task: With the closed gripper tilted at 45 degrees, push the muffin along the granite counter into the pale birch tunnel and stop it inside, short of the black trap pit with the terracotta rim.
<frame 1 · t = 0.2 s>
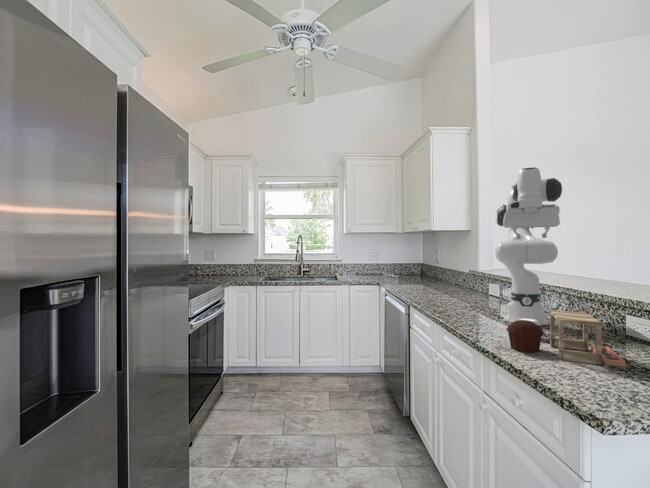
hand: (531, 238, 143), 40 cm above the countertop, tool pointing down, fingers open, 8 cm apart
muffin: (524, 349, 123), on the countertop
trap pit: (606, 357, 114), on the countertop
tunnel: (573, 354, 117), on the countertop
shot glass: (527, 337, 139), on the countertop
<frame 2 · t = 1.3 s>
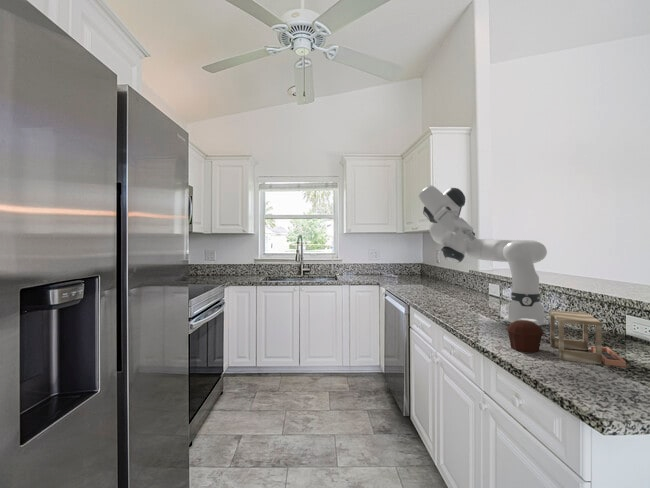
hand: (470, 239, 138), 39 cm above the countertop, tool tilted 40°, fingers open, 8 cm apart
nothing on the countertop moved.
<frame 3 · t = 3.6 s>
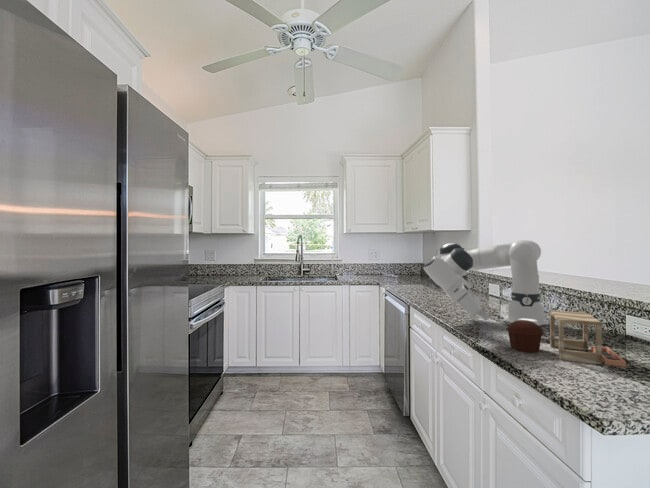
hand: (487, 318, 128), 10 cm above the countertop, tool tilted 45°, fingers closed
nothing on the countertop moved.
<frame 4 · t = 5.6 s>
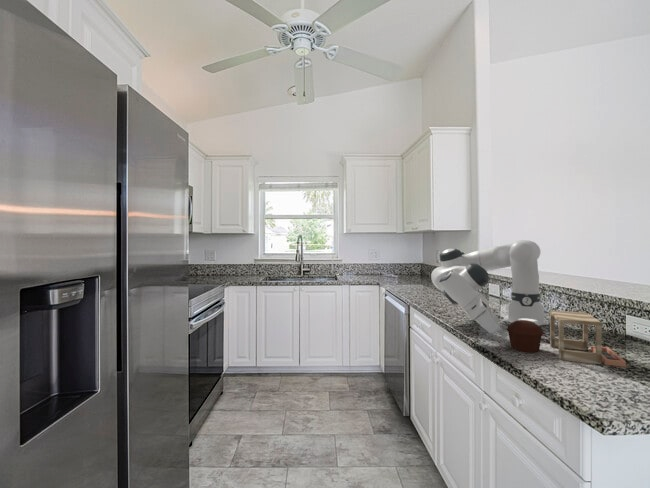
hand: (505, 336, 125), 4 cm above the countertop, tool tilted 45°, fingers closed
muffin: (524, 349, 123), on the countertop, touching gripper
everything else where it was.
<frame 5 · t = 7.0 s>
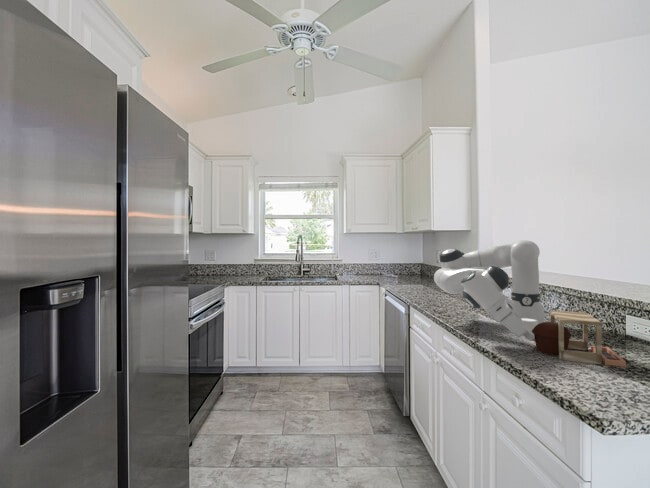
hand: (531, 338, 122), 4 cm above the countertop, tool tilted 45°, fingers closed
muffin: (551, 352, 120), on the countertop, touching gripper
everything else where it was.
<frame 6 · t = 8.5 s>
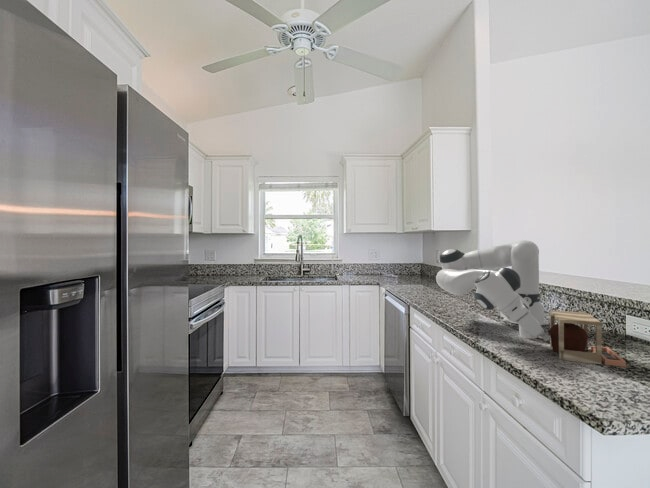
hand: (547, 339, 120), 4 cm above the countertop, tool tilted 45°, fingers closed
muffin: (567, 353, 119), on the countertop, touching gripper
everything else where it was.
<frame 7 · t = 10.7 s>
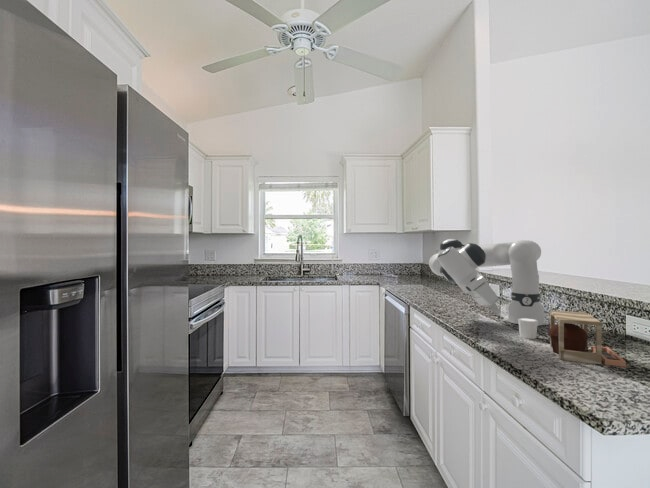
hand: (498, 313, 127), 12 cm above the countertop, tool tilted 40°, fingers closed
muffin: (567, 353, 119), on the countertop
everything else where it was.
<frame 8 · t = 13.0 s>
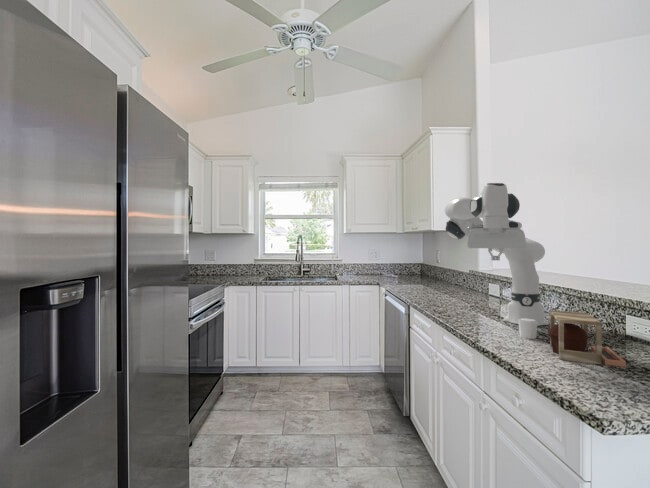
hand: (495, 260, 133), 31 cm above the countertop, tool pointing down, fingers closed
nothing on the countertop moved.
at the end: muffin inside the target area (1.2 cm from its centre), on the countertop; muffin touching countertop; muffin tilted 0° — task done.
